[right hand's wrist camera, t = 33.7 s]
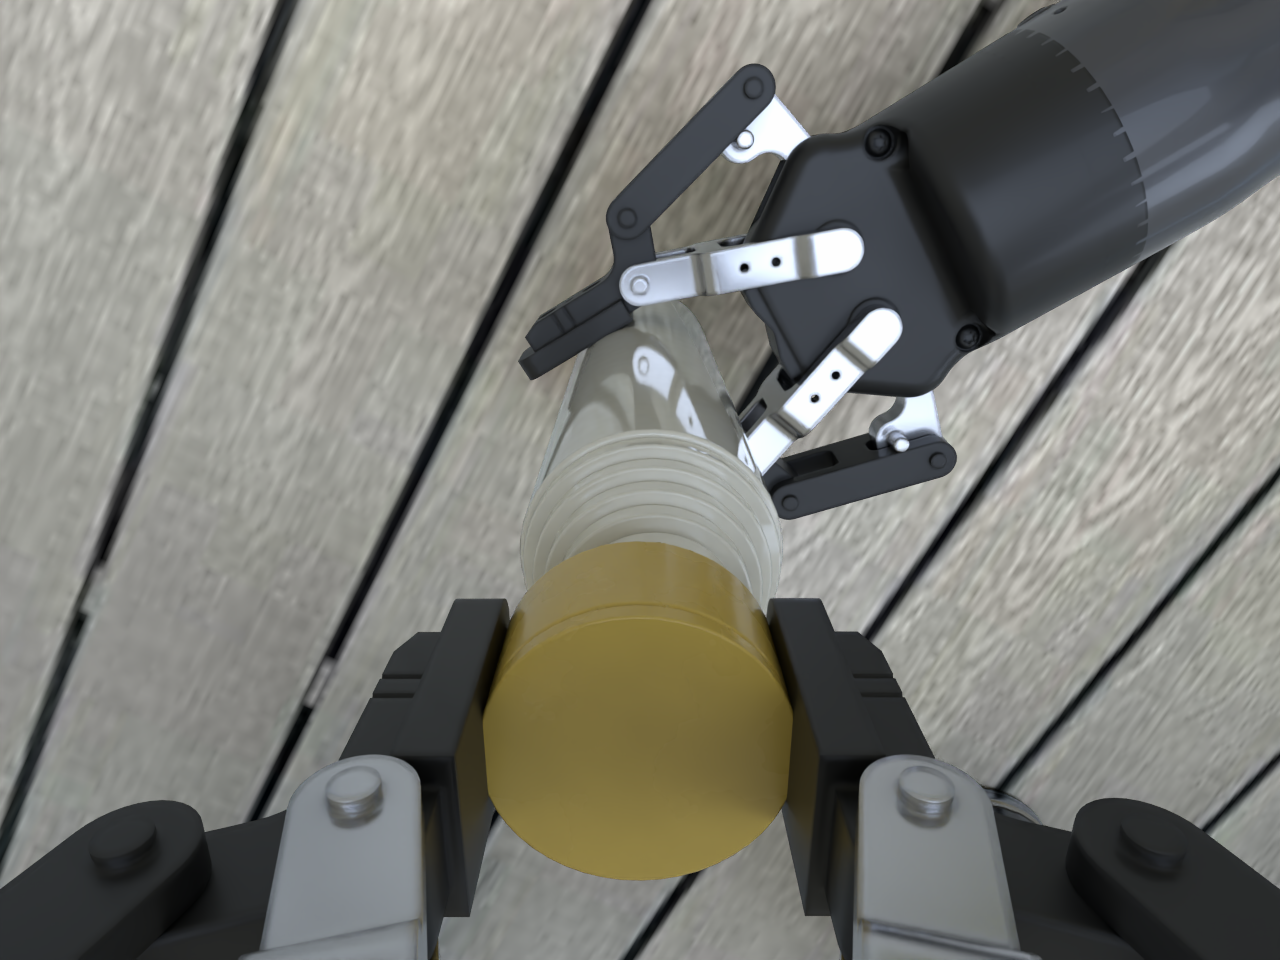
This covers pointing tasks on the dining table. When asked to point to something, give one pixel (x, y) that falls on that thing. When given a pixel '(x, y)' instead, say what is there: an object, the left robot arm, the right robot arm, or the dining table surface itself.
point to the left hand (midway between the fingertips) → (576, 437)
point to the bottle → (653, 458)
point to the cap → (638, 715)
